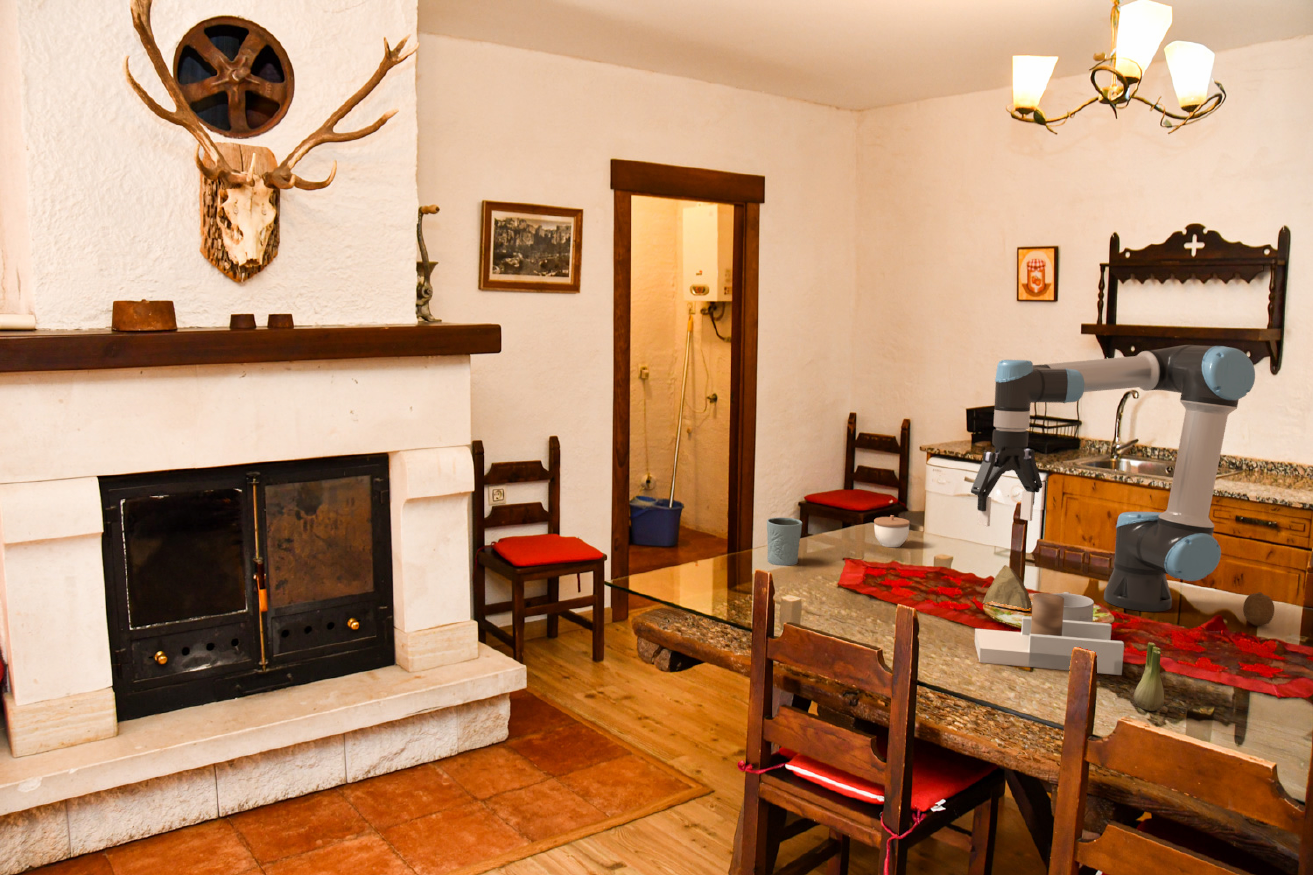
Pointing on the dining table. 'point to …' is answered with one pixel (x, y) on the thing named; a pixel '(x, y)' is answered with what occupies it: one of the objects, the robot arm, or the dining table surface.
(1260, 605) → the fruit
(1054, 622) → the brown cylinder
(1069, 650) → the channel
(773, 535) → the embossed blue-grey cup
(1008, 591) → the rock
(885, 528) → the lidded jar
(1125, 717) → the dining table surface
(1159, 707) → the fennel bulb
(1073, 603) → the teacup
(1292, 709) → the dining table surface
